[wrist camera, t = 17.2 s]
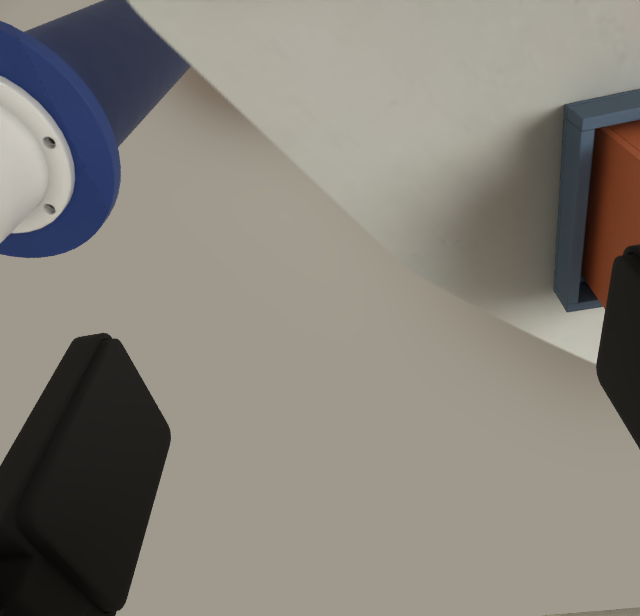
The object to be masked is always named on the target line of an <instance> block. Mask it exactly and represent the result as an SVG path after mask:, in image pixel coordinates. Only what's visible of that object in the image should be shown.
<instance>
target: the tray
mask: <svg viewBox="0 0 640 616" xmlns="http://www.w3.org/2000/svg"><path fill="white" fill-rule="evenodd" d="M635 120H640V89H637V90H632V91H627V92H622V93H618V94H613V95H608V96H603V97H599V98H594V99H589V100H584V101H579V102H575V103H570V104H565V110H564V127H563V143H562V160H561V177H560V193H559V210H558V227H557V243H556V260H555V277H554V292H555V293H556V295H557V296H558V298H559V300H560V302H561V303H562V305H563V307H564V308H565V310H566V312H572V311H579V310H585V309H592V308H598V307H603V306H602V304H601V303H600V301H599V300H598V298H597V297H596V295H595V294H594V292H593V291H592V290H591V288H590V287H589V285H588V284H587V282H586V281H585V279H584V278H583V276H582V275H581V270H582V260H583V250H584V239H585V229H586V219H587V208H588V198H589V188H590V177H591V167H592V157H593V146H594V136H595V129H596V128H601V127H606V126H611V125H616V124H621V123H626V122H630V121H635Z"/></svg>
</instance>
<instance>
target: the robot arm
mask: <svg viewBox="0 0 640 616" xmlns="http://www.w3.org/2000/svg"><path fill="white" fill-rule="evenodd" d="M52 139H53V140H54V141H53V140H52ZM74 184H75V169H74V162H73V158H72V155H71V151H70V148H69V146H68V144H67V141H66V139H65V137H64V135H63V133H62V131H61V130H60V128H59V127H58V125H57V124H56V122H55V121H54V119H53V118H52V117H51V115H50V114H49V113H48V112H47V111H46V110H45V109H44V108H43V107H42V105H41V104H40V103H39V102H38V101H37V100H35V99H34V98H33V97H32V96H31V95H29V94H28V93H27V92H26V91H25V90H24V89H22V88H21V87H19V86H18V85H16V84H14V83H13V82H11V81H10V80H8V79H6V78H5V77H2V76H0V243H1V242H2V241H3V240H4V239H5V238H6V237H7V236H8V235H9V234H10V233H14V234H16V233H25V232H31V231H34V230H38V229H41V228H43V227H45V226H46V225H48V224H50V223H51V222H53V221H54V220H55V219H56V218H57V217H58V216H59V215H60V214H61V213H62V212H63V210H64V209H65V208H66V206H67V205H68V204H69V201H70V199H71V196H72V194H73V191H74ZM596 369H597V376H598V379H599V382H600V384H601V386H602V387H603V389H604V391H605V392H606V394H607V396H608V397H609V399H610V400H611V402H612V404H613V405H614V407H615V409H616V411H617V412H618V414H619V415H620V417H621V419H622V420H623V422H624V424H625V425H626V427H627V429H628V430H629V432H630V434H631V435H632V437H633V439H634V440H635V442H636V444H637V445H638V447H639V449H640V244H638V245H632V246H628V247H627V248H626V249H625V250H624V252H623V255H622V256H617V257H616V258H615V259H614V262H613V266H612V272H611V278H610V285H609V291H608V297H607V303H606V309H605V315H604V321H603V328H602V334H601V340H600V346H599V352H598V358H597V365H596ZM170 441H171V434H170V428H169V426H168V424H167V422H166V420H165V419H164V417H163V415H162V413H161V411H160V410H159V408H158V406H157V404H156V403H155V401H154V399H153V397H152V396H151V394H150V392H149V390H148V389H147V387H146V385H145V383H144V382H143V380H142V378H141V377H140V375H139V373H138V371H137V369H136V368H135V366H134V364H133V362H132V361H131V359H130V357H129V355H128V354H127V352H126V350H125V348H124V347H123V345H122V343H121V342H120V341H119V340H118V339H112V337H111V336H110V335H108V334H107V333H100V334H94V335H88V336H82V337H78V338H75V339H74V340H73V341H72V343H71V344H70V346H69V348H68V350H67V351H66V353H65V355H64V356H63V358H62V360H61V362H60V363H59V365H58V367H57V369H56V370H55V372H54V374H53V376H52V377H51V379H50V381H49V382H48V384H47V386H46V388H45V390H44V391H43V393H42V395H41V396H40V398H39V400H38V402H37V403H36V405H35V407H34V408H33V410H32V412H31V414H30V415H29V417H28V419H27V421H26V422H25V424H24V426H23V428H22V430H21V432H20V433H19V435H18V436H17V438H16V440H15V442H14V443H13V445H12V447H11V448H10V450H9V452H8V454H7V455H6V457H5V459H4V461H3V462H2V464H1V466H0V616H115V615H116V611H118V610H120V609H121V608H123V606H124V604H125V602H126V599H127V596H128V592H129V589H130V585H131V582H132V578H133V575H134V571H135V568H136V564H137V561H138V557H139V553H140V550H141V546H142V542H143V539H144V535H145V532H146V528H147V525H148V521H149V518H150V514H151V510H152V507H153V503H154V500H155V496H156V492H157V489H158V485H159V482H160V478H161V475H162V471H163V467H164V464H165V460H166V457H167V453H168V449H169V446H170ZM545 616H640V608H629V609H616V610H605V611H592V612H580V613H569V614H557V615H545Z"/></svg>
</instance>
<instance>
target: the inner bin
mask: <svg viewBox="0 0 640 616" xmlns="http://www.w3.org/2000/svg"><path fill="white" fill-rule="evenodd" d="M638 244H640V120H635V121H630V122H626V123H621V124H616V125H611V126H606V127H601V128H596V129H595V136H594V146H593V157H592V167H591V177H590V188H589V198H588V208H587V219H586V229H585V239H584V250H583V260H582V270H581V275H582V276H583V278H584V279H585V281H586V282H587V284H588V285H589V287H590V288H591V290H592V291H593V292H594V294H595V295H596V297H597V298H598V300H599V301H600V303H601V304H602V306H603V307H604V308H605V309H606V303H607V297H608V291H609V285H610V278H611V272H612V266H613V262H614V259H615V258H616V257H617V256H622V255H623V252H624V250H625V249H626V248H627V247H628V246H632V245H638Z"/></svg>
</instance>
